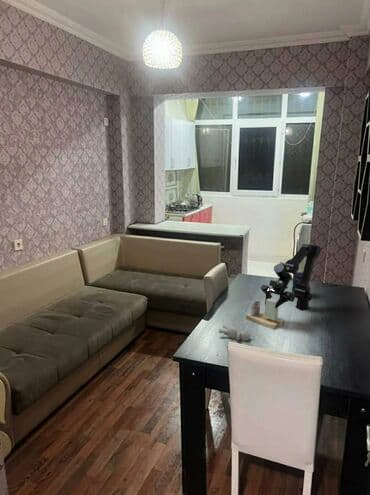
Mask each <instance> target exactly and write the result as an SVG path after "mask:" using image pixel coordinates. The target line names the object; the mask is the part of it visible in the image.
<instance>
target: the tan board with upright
mask: <svg viewBox="0 0 370 495" xmlns="http://www.w3.org/2000/svg"><path fill="white" fill-rule="evenodd" d="M250 306H251V307H250V313H247V314H246V315H245V319H246V320H248V321H250V322H253V323H256V324H259V325H260V326H263V327H266V328H269V329H271V330H275V329H277V328H278V327H281V326H282V325H284V324H285V320H284V319H281V318H277V319H276V320H272V319H269V318H266V317H265V312H260V311H261V309H260V308H261V299H258V300H254V301H253V302H251V305H250Z"/></svg>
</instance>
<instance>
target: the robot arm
mask: <svg viewBox="0 0 370 495" xmlns="http://www.w3.org/2000/svg"><path fill="white" fill-rule="evenodd" d="M321 253H322V248H321V247H320V245H316V244H305V243H304V244H301V247H300V249H299V250H298V251H297V252H296V254H294V256H293V257H292V258H290V259H288V260H287V261H285V262H282V261H280V262H279V263H277V264H276V265H274V266H273V271H274V273H275V274H276V276H277V277H278V279H276V280H273V279H270V280H269V284H268V285H266V284H262V285H261V286H260V289H261V292H263V294H265V300H264V304H265V303H266V299H269V298H270V299H273V295H272V294H275V295H277V296H279V298H278V300H277V301H278V302H277V304H276V306H275V308H277V307H278V308H279V307H281V305H284V304H285V303H287V302H292V303H294V301H295V299H297V300H296V305H294V307H295V308H297V309H299V310H301V311H306V310H310V309H311V307H309V304H310V301H312V298H313V295H312V293H311V286H310V280H311V276H312V273H313V269H314V264H315V261H316V260H317V259H318V258H319V257H320V255H321ZM303 260H305V263H304V267H303V271H302V273H303V274H302V278H301V281H300V282H299V283H297V284H296V288H295V290H294V293H295V297H296V298H295V297H294V296H293V294H292V291H287V289H288V288H289V287H288V285H289V284H290V282H291V281H292V280H293V274H296V273H297V272H299V269H300V264H301V263H302V262H303ZM291 274H292V275H291Z"/></svg>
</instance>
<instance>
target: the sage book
mask: <svg viewBox="0 0 370 495" xmlns="http://www.w3.org/2000/svg"><path fill="white" fill-rule="evenodd" d="M265 299H266V298H265ZM277 302H278V300H275V299H273V298H271V299H270V298H269V299H266V303H265V302H264V305H265V308H264V314H265V317H266V318H269V319H272V320H276V319H277V318H278V315H279V314H278V313H279V307H277V308H275V306H276V304H277ZM278 319H279V318H278Z"/></svg>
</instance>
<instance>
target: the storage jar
mask: <svg viewBox="0 0 370 495" xmlns="http://www.w3.org/2000/svg"><path fill="white" fill-rule="evenodd" d="M302 274H303V271H302V272H301V271H297V273H296V274H292V278H293V280H291V281H292V287H291V293H292V294H293V296H294V297H295V293H294V290H295V288H296V284H297V283H299V282H300V281H301V278H302ZM295 299H297V298H296V297H295Z"/></svg>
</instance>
